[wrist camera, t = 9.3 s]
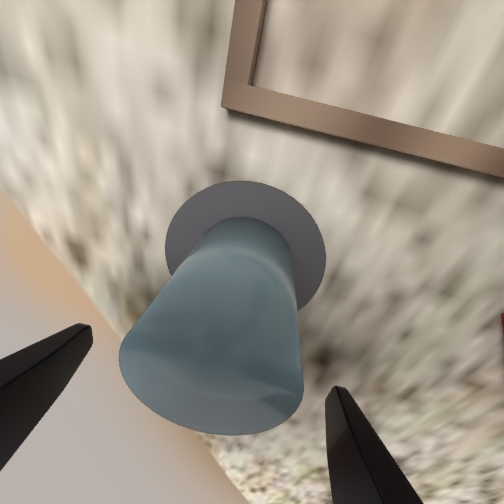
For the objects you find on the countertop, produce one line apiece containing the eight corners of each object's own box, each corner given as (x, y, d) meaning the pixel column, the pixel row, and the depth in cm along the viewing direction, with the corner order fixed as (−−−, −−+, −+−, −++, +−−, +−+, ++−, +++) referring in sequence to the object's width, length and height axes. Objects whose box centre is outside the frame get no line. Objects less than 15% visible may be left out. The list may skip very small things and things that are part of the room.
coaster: (352, 205, 13) (353, 207, 13) (296, 335, 17) (296, 338, 17) (171, 161, 13) (169, 161, 13) (163, 303, 17) (161, 305, 17)
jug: (269, 333, 17) (261, 475, 10) (189, 313, 17) (123, 441, 10) (305, 231, 13) (333, 341, 6) (202, 205, 13) (114, 286, 6)
